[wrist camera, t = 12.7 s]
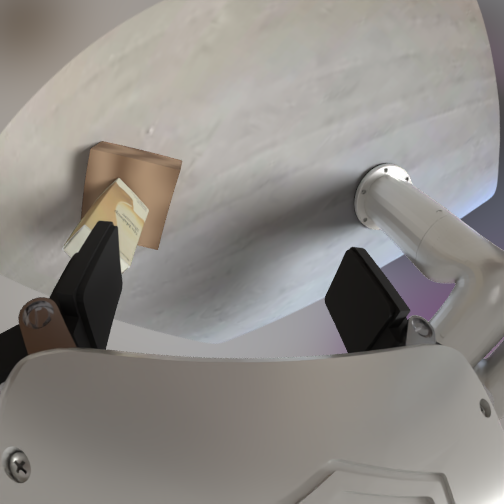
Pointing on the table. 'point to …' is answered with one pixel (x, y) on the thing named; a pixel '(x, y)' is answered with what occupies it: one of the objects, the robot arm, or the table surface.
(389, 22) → the table surface
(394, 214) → the robot arm
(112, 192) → the skincare box
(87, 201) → the walnut block
